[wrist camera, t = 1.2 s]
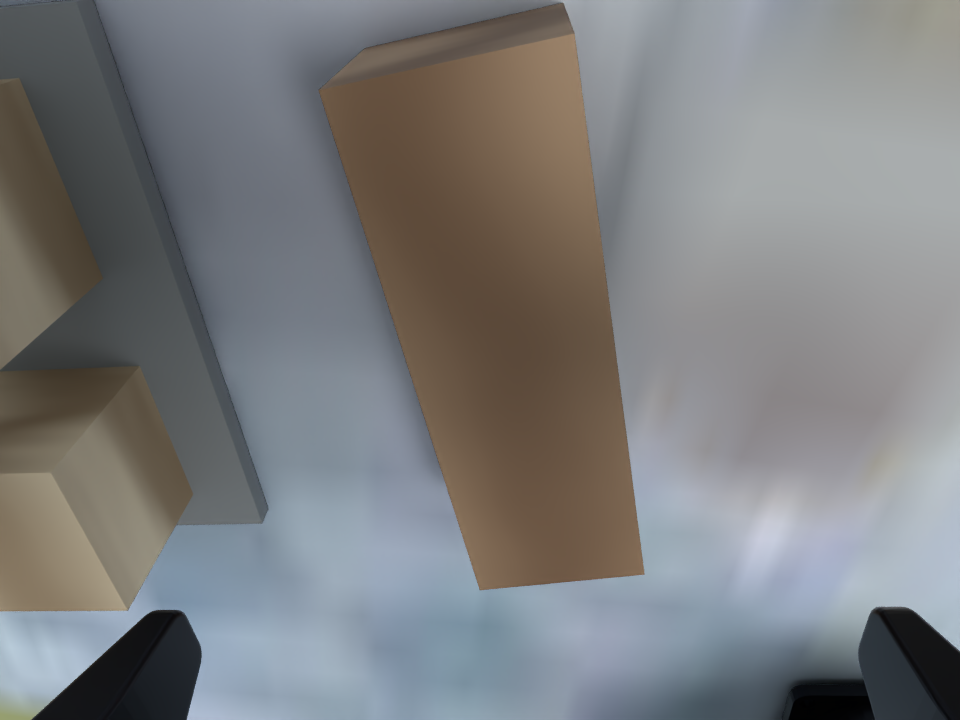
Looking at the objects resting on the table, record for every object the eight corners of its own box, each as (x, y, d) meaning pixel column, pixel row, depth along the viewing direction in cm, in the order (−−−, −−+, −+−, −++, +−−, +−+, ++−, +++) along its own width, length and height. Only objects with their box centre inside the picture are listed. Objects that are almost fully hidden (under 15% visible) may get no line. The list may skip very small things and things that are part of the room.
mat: (92, -3, 14) (76, 1, 13) (268, 508, 21) (262, 523, 21) (-228, 26, 14) (-255, 31, 14) (53, 513, 22) (42, 527, 22)
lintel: (562, 0, 14) (574, 32, 10) (624, 461, 20) (644, 574, 17) (367, 45, 14) (318, 90, 11) (487, 478, 21) (479, 589, 17)
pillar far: (139, 365, 18) (50, 472, 15) (193, 494, 20) (127, 610, 17) (-24, 372, 18) (-147, 477, 15) (48, 497, 21) (-44, 611, 17)
